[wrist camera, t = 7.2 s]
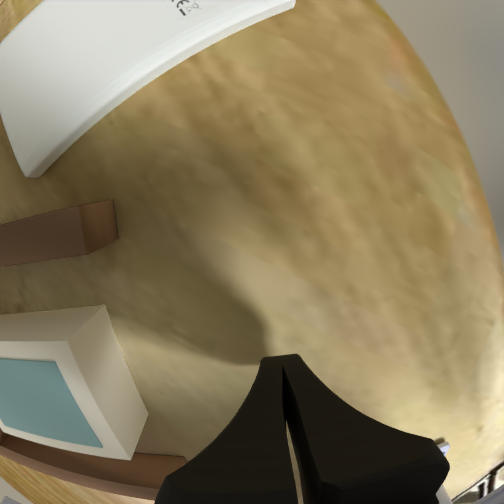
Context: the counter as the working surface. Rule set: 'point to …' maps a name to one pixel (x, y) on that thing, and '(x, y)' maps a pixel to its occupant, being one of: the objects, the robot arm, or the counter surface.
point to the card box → (68, 382)
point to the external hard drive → (100, 62)
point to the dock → (55, 459)
